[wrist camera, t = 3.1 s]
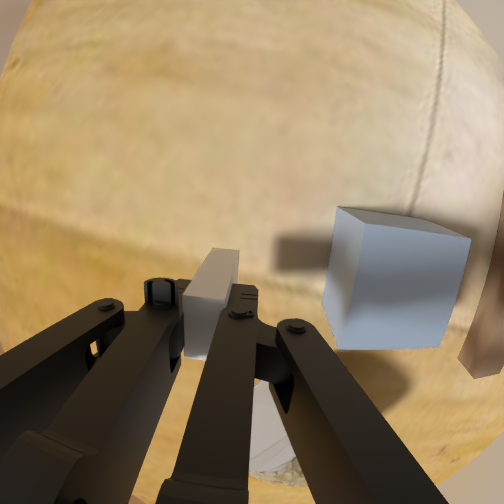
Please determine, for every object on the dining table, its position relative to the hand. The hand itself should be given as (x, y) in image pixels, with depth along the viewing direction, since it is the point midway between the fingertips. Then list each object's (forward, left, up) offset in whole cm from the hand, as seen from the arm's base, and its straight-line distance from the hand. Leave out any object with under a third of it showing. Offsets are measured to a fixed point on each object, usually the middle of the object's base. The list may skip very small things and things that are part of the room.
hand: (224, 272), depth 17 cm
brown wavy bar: (0, +24, -4) cm, 24 cm away
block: (0, +10, -4) cm, 11 cm away
